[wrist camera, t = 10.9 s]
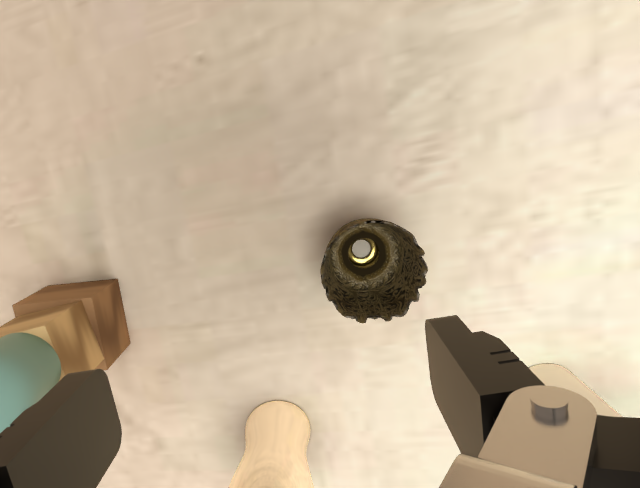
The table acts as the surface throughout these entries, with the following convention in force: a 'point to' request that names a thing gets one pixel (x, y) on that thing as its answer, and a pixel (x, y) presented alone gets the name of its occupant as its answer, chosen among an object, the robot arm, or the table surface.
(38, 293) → the base block
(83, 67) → the table surface
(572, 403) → the robot arm
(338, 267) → the cup
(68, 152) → the table surface
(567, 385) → the cylindrical container
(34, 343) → the cylinder
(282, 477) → the beer glass
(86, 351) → the top block
